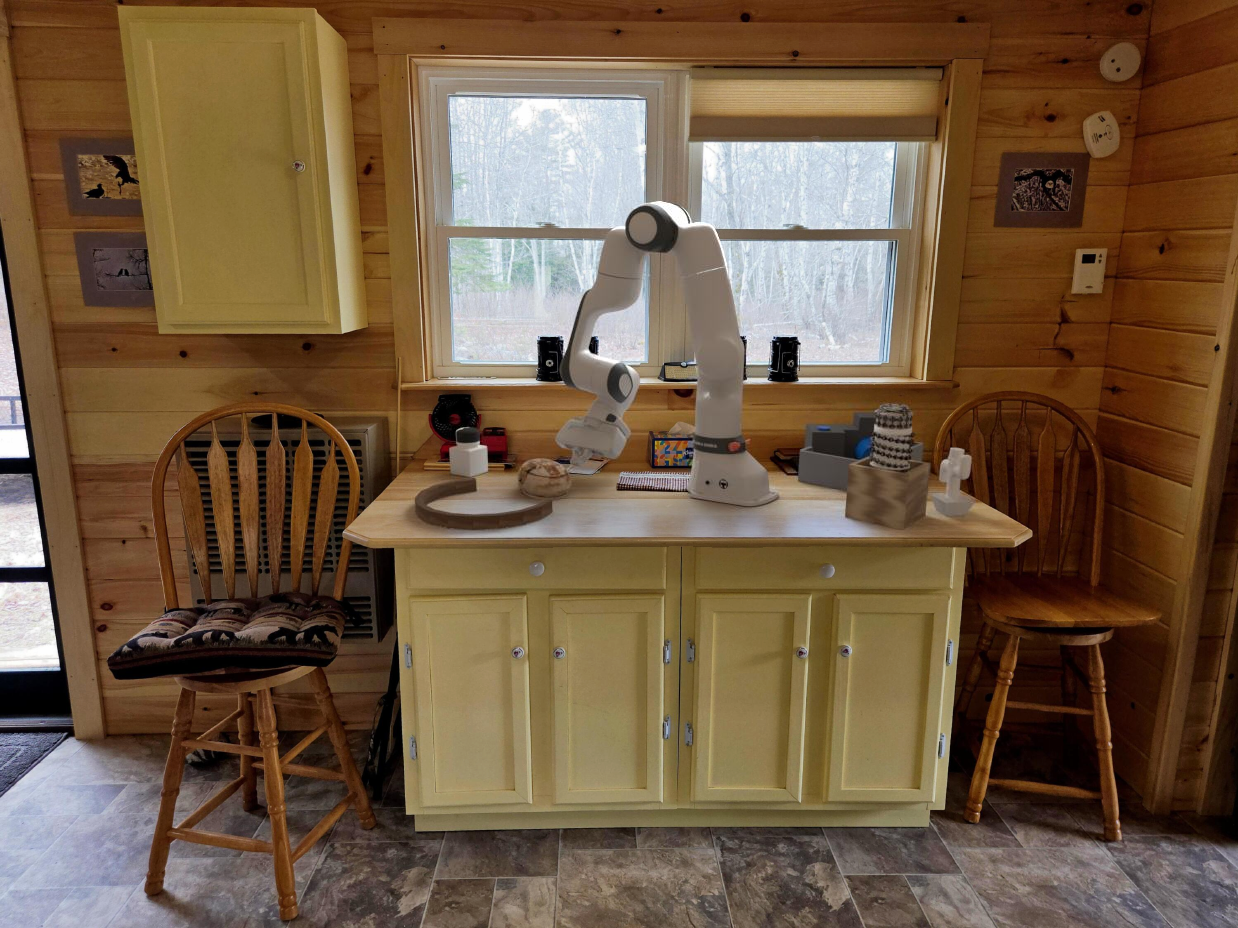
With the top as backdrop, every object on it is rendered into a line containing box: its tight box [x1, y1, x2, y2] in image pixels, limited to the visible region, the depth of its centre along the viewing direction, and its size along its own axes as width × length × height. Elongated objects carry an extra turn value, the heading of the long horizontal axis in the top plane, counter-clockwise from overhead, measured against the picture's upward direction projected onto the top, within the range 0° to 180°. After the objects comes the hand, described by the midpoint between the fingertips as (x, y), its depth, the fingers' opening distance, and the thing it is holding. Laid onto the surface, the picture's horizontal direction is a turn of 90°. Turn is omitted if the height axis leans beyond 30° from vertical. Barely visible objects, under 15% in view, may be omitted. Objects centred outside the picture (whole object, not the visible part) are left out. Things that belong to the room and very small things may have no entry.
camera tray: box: [797, 441, 924, 492], centre depth 214 cm, size 21×30×8 cm
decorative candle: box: [870, 403, 916, 473], centre depth 179 cm, size 9×9×25 cm
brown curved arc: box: [414, 477, 553, 531], centre depth 184 cm, size 31×24×3 cm
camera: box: [804, 411, 876, 460], centre depth 215 cm, size 25×16×16 cm, turn 86°
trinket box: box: [517, 458, 572, 501], centre depth 199 cm, size 13×15×8 cm
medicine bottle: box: [448, 426, 489, 478], centre depth 215 cm, size 7×7×12 cm
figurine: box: [928, 447, 976, 517], centre depth 183 cm, size 7×9×15 cm
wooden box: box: [844, 456, 932, 530], centre depth 181 cm, size 13×13×12 cm
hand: (575, 464), depth 208 cm, fingers closed
